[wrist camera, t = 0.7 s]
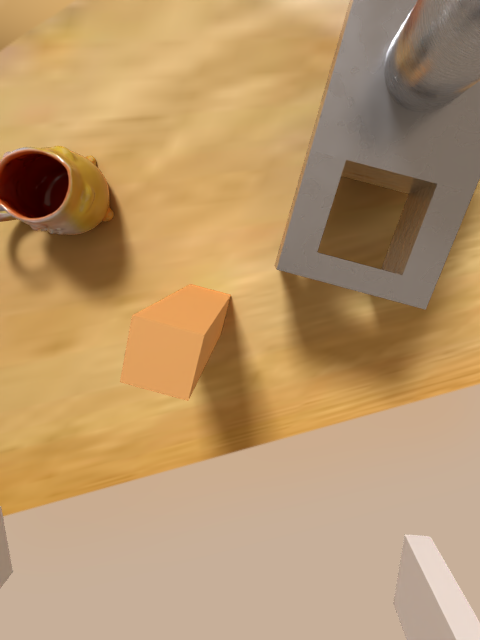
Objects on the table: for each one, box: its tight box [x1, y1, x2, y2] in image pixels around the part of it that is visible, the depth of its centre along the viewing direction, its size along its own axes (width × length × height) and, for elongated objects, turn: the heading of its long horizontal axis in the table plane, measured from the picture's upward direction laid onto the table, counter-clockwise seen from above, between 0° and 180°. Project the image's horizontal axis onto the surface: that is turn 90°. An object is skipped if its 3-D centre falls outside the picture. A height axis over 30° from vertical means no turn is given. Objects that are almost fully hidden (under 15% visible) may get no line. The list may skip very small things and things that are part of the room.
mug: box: [0, 146, 114, 235], centre depth 27 cm, size 12×7×7 cm, turn 102°
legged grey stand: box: [275, 0, 480, 310], centre depth 20 cm, size 17×10×16 cm, turn 165°
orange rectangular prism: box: [120, 284, 231, 401], centre depth 25 cm, size 4×4×14 cm
